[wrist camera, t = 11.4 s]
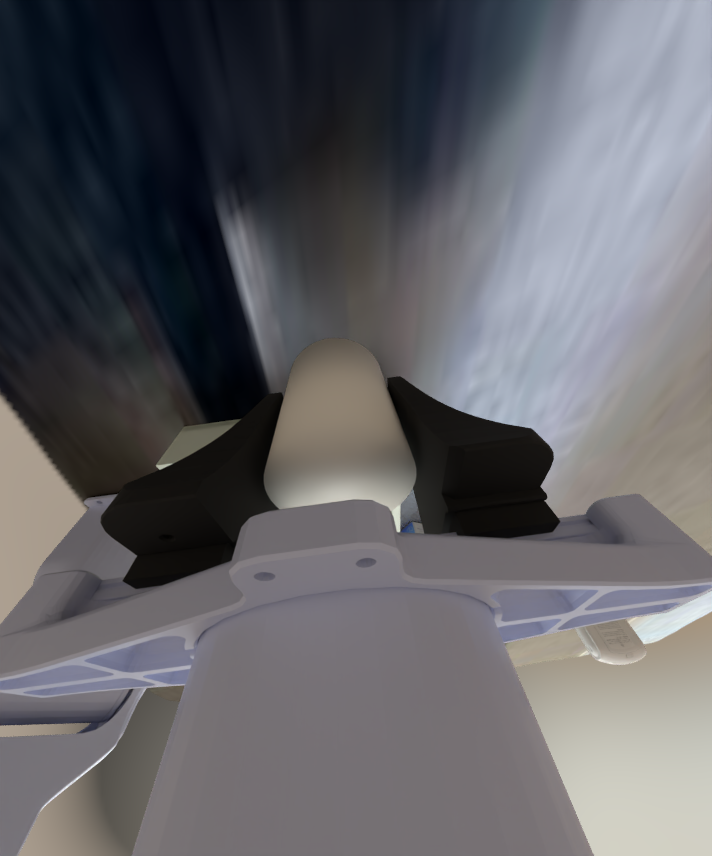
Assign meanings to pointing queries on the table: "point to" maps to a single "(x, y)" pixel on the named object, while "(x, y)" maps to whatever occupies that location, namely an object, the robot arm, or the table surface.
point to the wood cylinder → (338, 432)
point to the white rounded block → (612, 642)
